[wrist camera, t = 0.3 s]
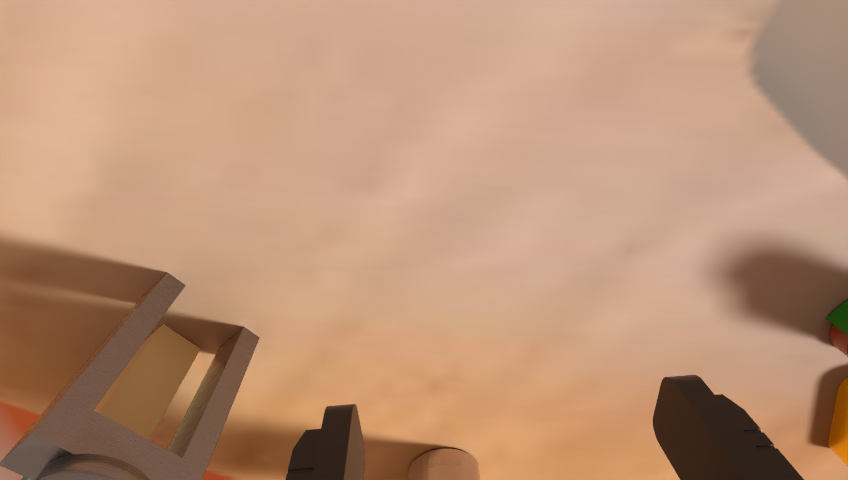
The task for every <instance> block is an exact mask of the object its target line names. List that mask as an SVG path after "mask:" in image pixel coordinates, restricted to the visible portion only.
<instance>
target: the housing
mask: <svg viewBox="0 0 848 480" xmlns="http://www.w3.org/2000/svg"><path fill="white" fill-rule="evenodd" d="M184 287H185V285H184V284H183V283H181V282H180V281H178V280H177V279H176V278H174V277H173V276H171V275H170V274H169V273H167V274H166V275H164V276H163V277H162V278H161V279H160V280H159V281H158V282H157V283H156V284H155V285H154V286H153V287H152V288H151V289H150V290H149V291H148V292H147V293H146V294H145V295H144V296H143V297H142V298H141V299H140V300H139V301H138V303H137V304H136V305H135V306H134V307H133V308H132V310H131V311H130V312H129V313H128V314H127V315H126V317H125V318H124V319H123V320H122V321H121V322H120V324H119V325H118V326H117V327H116V328H115V329H114V331H113V332H112V333H111V334H110V335H109V336H108V338H107V339H106V340H105V341H104V342H103V343H102V344H101V346H100V347H99V348H98V349H97V350H96V351H95V353H94V354H93V355H92V356H91V357H90V358H89V360H88V361H87V362H86V363H85V364H84V365H83V367H82V368H81V369H80V370H79V371H78V372H77V374H76V375H75V376H74V377H73V378H72V379H71V381H70V382H69V383H68V384H67V385H66V386H65V388H64V389H63V390H62V391H61V392H60V393H59V395H58V396H57V397H56V398H55V399H54V400H53V402H52V403H51V404H50V405H49V406H48V407H47V408H46V410H45V411H44V412H43V413H42V414H41V415H40V417H39V418H38V419H37V420H36V421H35V422H34V424H33V425H32V426H31V427H30V428H29V430H28V431H27V432H26V433H25V434H24V435H23V437H22V438H21V439H20V440H19V441H18V442H17V444H16V445H15V446H14V447H13V448H12V449H11V450H10V452H9V453H8V454H7V455H6V456H5V457H4V459H3V460H2V461H1V462H0V466H2V467H5V468H7V469H9V470H11V471H14V472H16V473H18V474H20V475H23V476H25V477H27V478H29V479H32V480H202V478H203V476H204V473H205V471H206V468H207V466H208V463H209V461H210V458H211V456H212V453H213V451H214V449H215V446H216V444H217V441H218V439H219V436H220V434H221V431H222V429H223V426H224V424H225V421H226V419H227V417H228V414H229V412H230V409H231V407H232V404H233V402H234V399H235V397H236V394H237V392H238V389H239V387H240V385H241V382H242V380H243V377H244V375H245V372H246V370H247V367H248V365H249V362H250V360H251V357H252V355H253V353H254V350H255V348H256V345H257V343H258V340H259V337H257V336H256V335H255V334H253V333H252V332H250V331H249V330H247V329H246V328H245V327H243V328H242V329H241V330H240V331H239V332H237V333H236V334H235V335H234V336H233V337H232V338H230V339H229V340H228V341H227V342H226V343H224V344H223V345H222V346H221V347H220V348H219V350H218V352H217V354H216V355H215V357H214V359H213V361H212V363H211V365H210V367H209V369H208V371H207V373H206V375H205V377H204V379H203V381H202V383H201V385H200V387H199V389H198V391H197V393H196V395H195V397H194V399H193V401H192V402H191V404H190V406H189V408H188V410H187V412H186V414H185V416H184V418H183V420H182V422H181V424H180V426H179V428H178V430H177V432H176V434H175V436H174V438H173V440H172V442H171V444H170V446H169V448H168V450H167V449H165V448H163V447H161V446H159V445H157V444H155V443H154V442H152V441H150V440H148V439H146V438H144V437H142V436H141V435H139V434H137V433H135V432H133V431H131V430H129V429H127V428H126V427H124V426H122V425H120V424H118V423H116V422H114V421H112V420H111V419H109V418H107V417H105V416H103V415H101V414H99V413H97V412H96V411H94V410H93V409H94V408H95V407H96V405H97V404H98V403H99V401H100V400H101V399H102V397H103V396H104V395H105V393H106V392H107V391H108V389H109V388H110V387H111V385H112V384H113V383H114V381H115V380H116V378H117V377H118V376H119V374H120V373H121V372H122V370H123V369H124V368H125V366H126V365H127V364H128V362H129V361H130V360H131V358H132V357H133V356H134V354H135V353H136V352H137V350H138V349H139V347H140V346H141V345H142V343H143V342H144V341H145V339H146V338H147V337H148V335H149V334H150V333H151V331H152V330H153V329H154V327H155V326H156V325H157V323H158V322H159V321H160V319H161V318H162V316H163V315H164V314H165V312H166V311H167V310H168V308H169V307H170V306H171V304H172V303H173V302H174V300H175V299H176V298H177V296H178V295H179V294H180V292H181V291H182V290H183V288H184Z"/></svg>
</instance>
